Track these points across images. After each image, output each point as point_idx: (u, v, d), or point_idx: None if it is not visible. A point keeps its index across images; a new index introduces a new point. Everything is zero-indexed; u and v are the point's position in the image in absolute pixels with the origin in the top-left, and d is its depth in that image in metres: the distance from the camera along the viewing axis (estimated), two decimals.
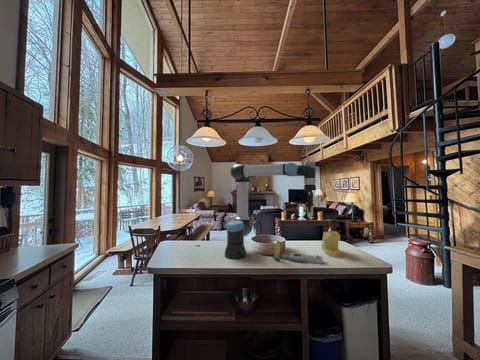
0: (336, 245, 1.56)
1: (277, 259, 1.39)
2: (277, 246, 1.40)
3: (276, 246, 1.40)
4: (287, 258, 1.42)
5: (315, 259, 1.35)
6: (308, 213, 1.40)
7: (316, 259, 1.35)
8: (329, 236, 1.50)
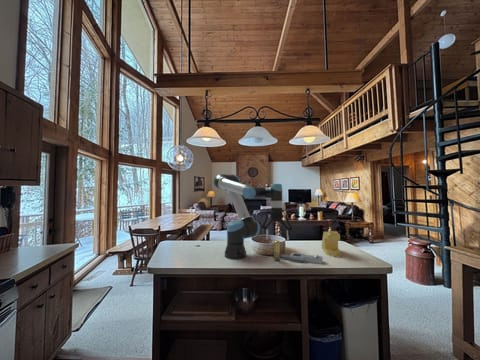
0: (336, 244, 1.57)
1: (277, 259, 1.39)
2: (277, 246, 1.40)
3: (276, 246, 1.40)
4: (287, 258, 1.42)
5: (315, 259, 1.35)
6: None
7: (316, 259, 1.35)
8: (329, 236, 1.51)
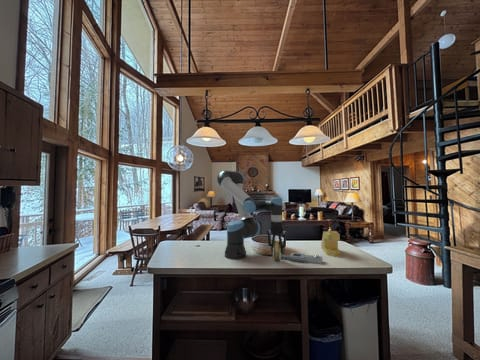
0: (336, 244, 1.58)
1: (277, 259, 1.39)
2: (277, 246, 1.40)
3: (276, 246, 1.40)
4: (287, 258, 1.42)
5: (315, 259, 1.35)
6: None
7: (316, 259, 1.35)
8: (329, 236, 1.51)
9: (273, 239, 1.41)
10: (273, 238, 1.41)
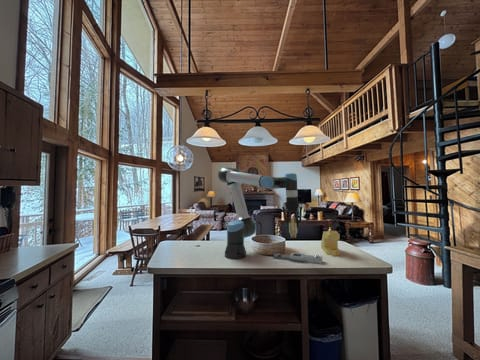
0: (335, 244, 1.59)
1: (293, 236, 1.40)
2: (293, 223, 1.40)
3: (292, 223, 1.40)
4: (287, 258, 1.42)
5: (315, 259, 1.35)
6: None
7: (316, 259, 1.35)
8: (329, 235, 1.52)
9: (289, 214, 1.42)
10: (289, 214, 1.42)
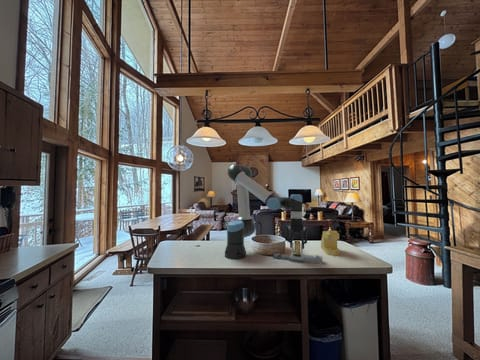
0: (335, 243, 1.60)
1: None
2: (298, 246, 1.40)
3: (297, 246, 1.41)
4: (287, 258, 1.42)
5: (315, 259, 1.35)
6: (292, 249, 1.44)
7: (316, 259, 1.35)
8: (328, 235, 1.53)
9: (292, 235, 1.42)
10: (293, 234, 1.42)
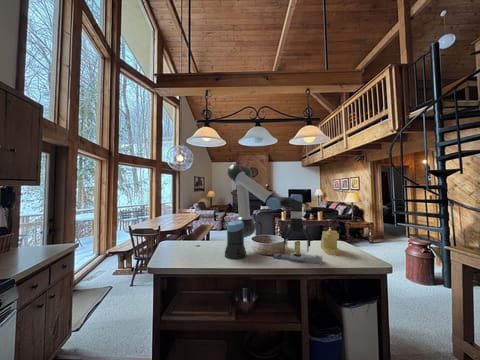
0: (335, 243, 1.60)
1: None
2: (298, 246, 1.40)
3: (297, 246, 1.41)
4: (287, 258, 1.42)
5: (315, 259, 1.35)
6: (286, 245, 1.46)
7: (316, 259, 1.35)
8: (328, 235, 1.53)
9: (289, 233, 1.43)
10: (290, 233, 1.43)
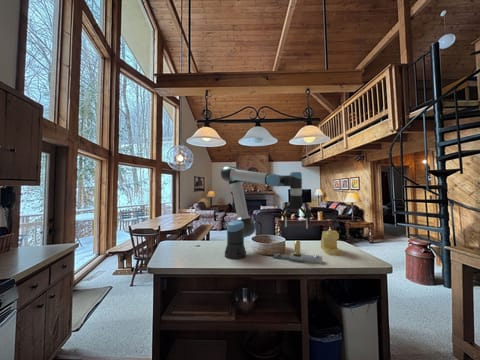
0: (335, 243, 1.60)
1: None
2: (298, 246, 1.40)
3: (297, 246, 1.41)
4: (287, 258, 1.42)
5: (315, 259, 1.35)
6: None
7: (316, 259, 1.35)
8: (328, 235, 1.54)
9: (288, 211, 1.44)
10: (289, 210, 1.44)
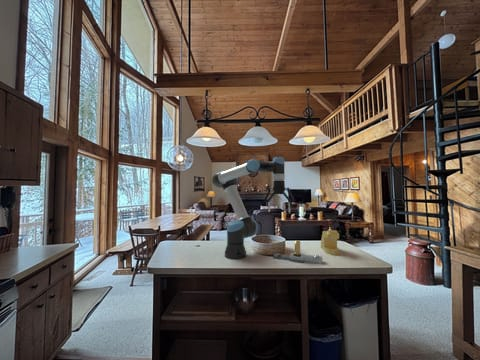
0: (335, 243, 1.61)
1: None
2: (298, 246, 1.40)
3: (297, 246, 1.41)
4: (287, 258, 1.42)
5: (315, 259, 1.35)
6: None
7: (316, 259, 1.35)
8: (329, 235, 1.54)
9: (271, 196, 1.46)
10: (272, 195, 1.46)
